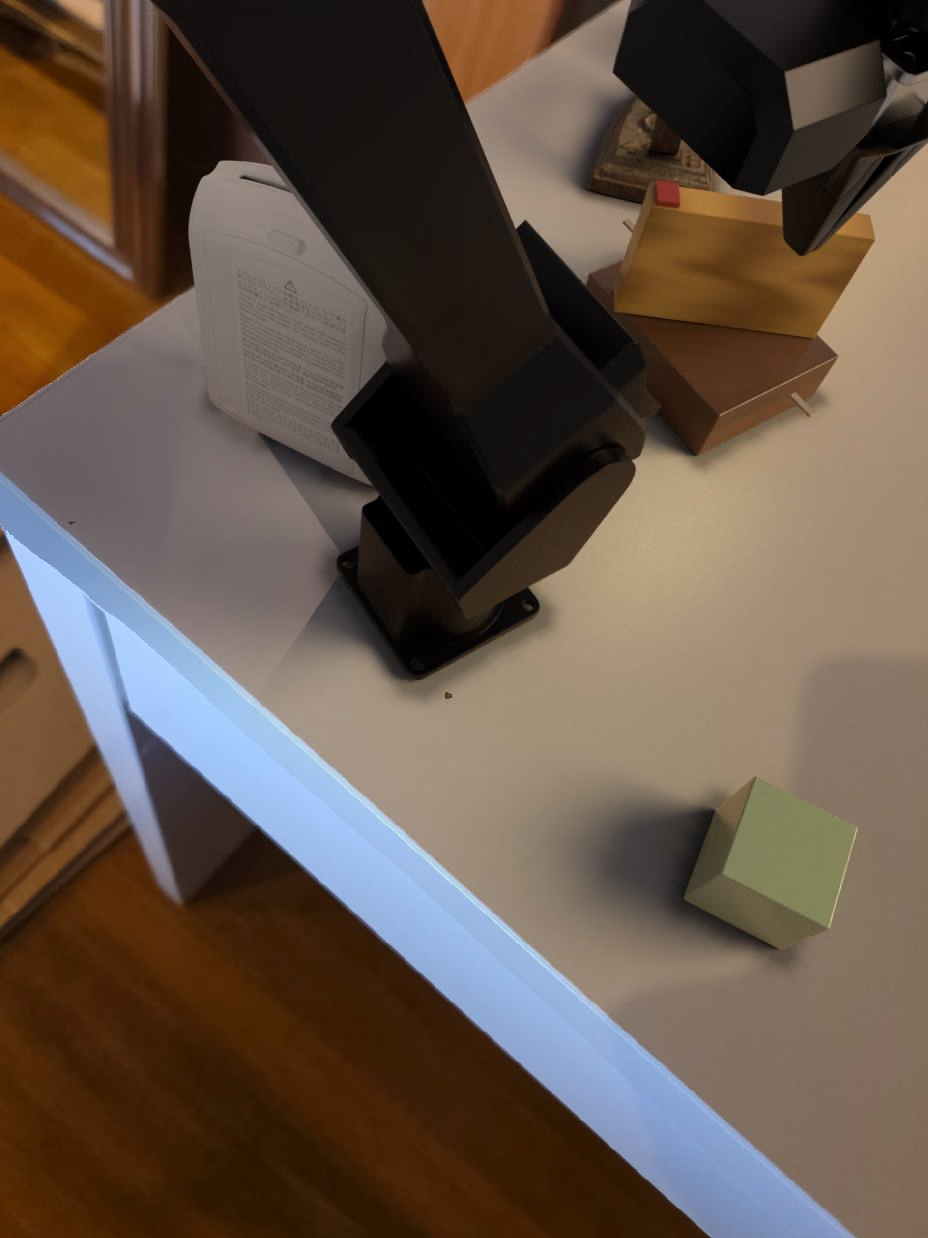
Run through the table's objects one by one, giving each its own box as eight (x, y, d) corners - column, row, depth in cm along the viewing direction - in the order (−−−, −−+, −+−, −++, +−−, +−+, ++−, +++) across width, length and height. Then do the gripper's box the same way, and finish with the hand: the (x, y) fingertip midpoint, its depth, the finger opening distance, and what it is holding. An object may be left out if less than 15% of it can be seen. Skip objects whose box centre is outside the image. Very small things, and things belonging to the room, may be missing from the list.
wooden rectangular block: (810, 315, 48) (873, 209, 43) (814, 339, 48) (879, 234, 42) (612, 288, 47) (651, 176, 42) (613, 312, 47) (653, 201, 41)
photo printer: (439, 441, 45) (478, 221, 35) (395, 507, 43) (422, 295, 33) (246, 349, 46) (226, 108, 36) (195, 409, 44) (157, 173, 34)
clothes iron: (586, 207, 55) (619, 6, 48) (595, 131, 63) (625, -53, 56) (710, 223, 55) (762, 23, 48) (704, 145, 63) (749, -38, 55)
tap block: (881, 404, 50) (914, 361, 48) (676, 514, 45) (699, 473, 42) (706, 228, 55) (727, 180, 52) (502, 310, 50) (513, 262, 47)
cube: (780, 950, 36) (830, 930, 33) (682, 899, 37) (720, 874, 33) (809, 856, 38) (859, 827, 35) (715, 808, 39) (755, 775, 35)
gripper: (1145, -37, 16) (760, 512, 29) (1610, -199, 22) (1122, 309, 36) (704, -344, 19) (544, 271, 33) (1218, -404, 26) (909, 128, 40)
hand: (799, 246), depth 35 cm, fingers closed
